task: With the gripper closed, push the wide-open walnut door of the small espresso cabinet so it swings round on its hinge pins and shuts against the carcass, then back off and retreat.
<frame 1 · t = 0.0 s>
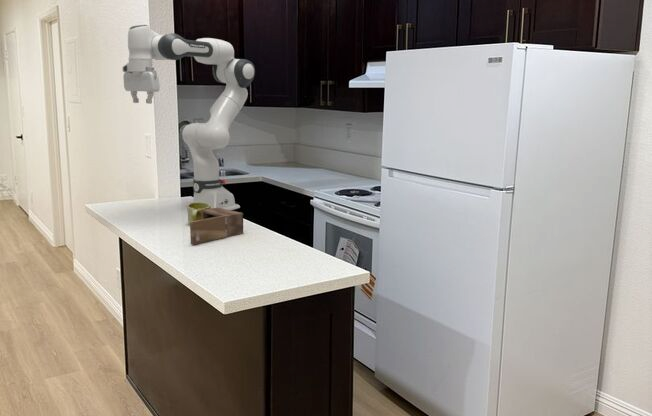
hand: (142, 103, 234), 48 cm above the countertop, fingers open, 8 cm apart
cabinet: (222, 231, 227), on the countertop
door: (210, 229, 212), point 4 cm above the countertop, hinge at 90.0°
mug: (198, 225, 238), on the countertop
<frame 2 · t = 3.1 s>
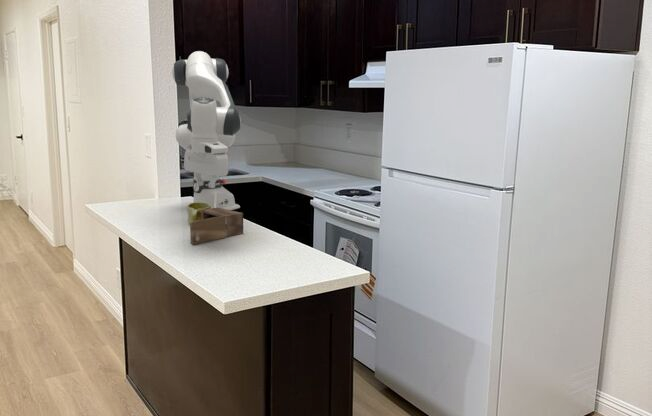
hand: (205, 186, 202), 21 cm above the countertop, fingers open, 5 cm apart
nothing on the countertop moved.
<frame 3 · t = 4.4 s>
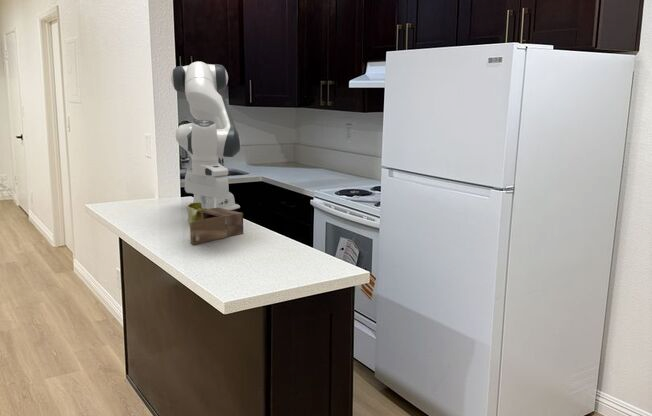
hand: (206, 208, 204), 14 cm above the countertop, fingers closed
nothing on the countertop moved.
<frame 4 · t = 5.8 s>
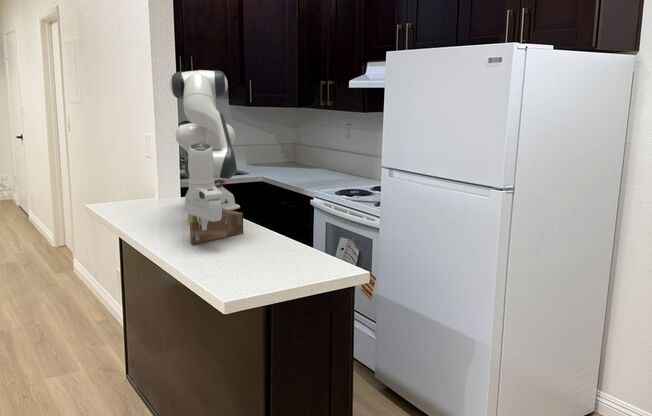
hand: (203, 229, 207), 5 cm above the countertop, fingers closed
door: (210, 229, 212), point 4 cm above the countertop, hinge at 89.4°, touching gripper
everything else where it was.
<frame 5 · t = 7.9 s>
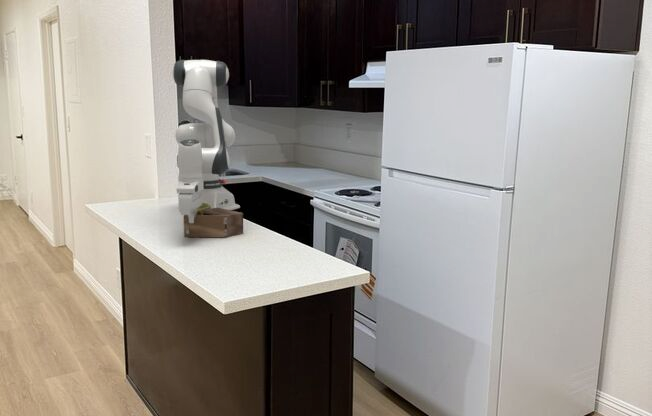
hand: (192, 222, 215), 6 cm above the countertop, fingers closed
door: (205, 226, 217), point 4 cm above the countertop, hinge at 41.3°, touching gripper
everything else where it was.
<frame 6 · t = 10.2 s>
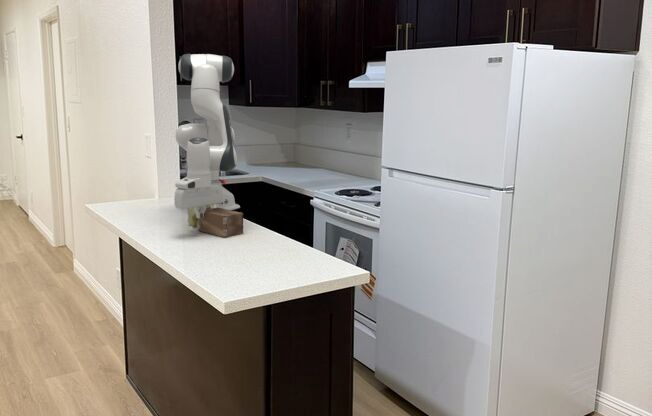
hand: (200, 217, 223), 6 cm above the countertop, fingers closed
door: (211, 223, 222), point 4 cm above the countertop, hinge at 1.2°, touching gripper
everything else where it was.
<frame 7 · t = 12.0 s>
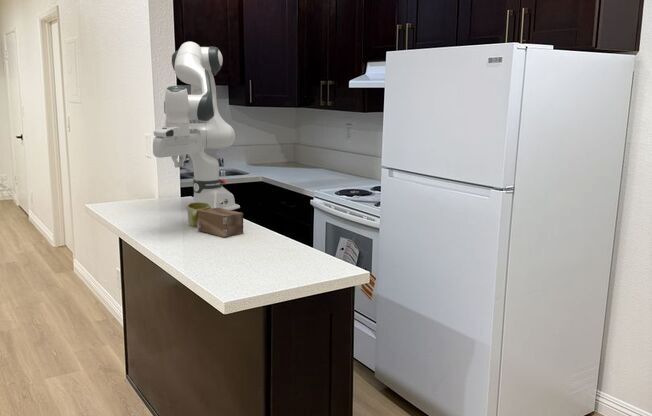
hand: (179, 167, 223), 25 cm above the countertop, fingers closed
door: (211, 223, 222), point 4 cm above the countertop, hinge at 1.1°
everything else where it was.
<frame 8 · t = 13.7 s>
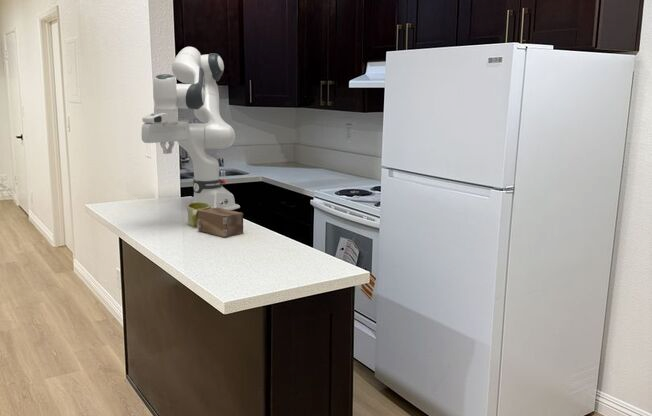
hand: (167, 153, 229), 29 cm above the countertop, fingers closed
nothing on the countertop moved.
at the end: door at +1° (first picture: +90°); door touching nothing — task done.
